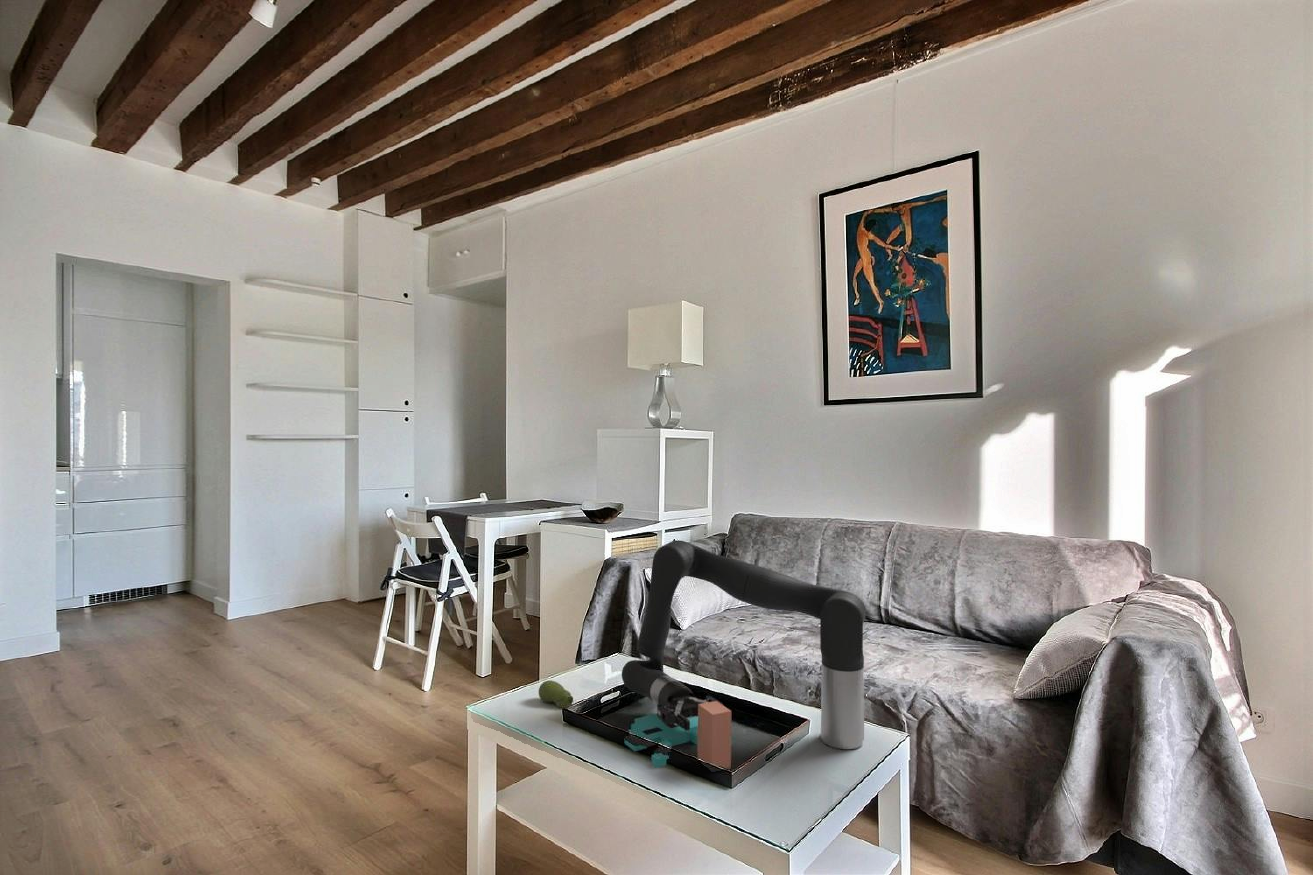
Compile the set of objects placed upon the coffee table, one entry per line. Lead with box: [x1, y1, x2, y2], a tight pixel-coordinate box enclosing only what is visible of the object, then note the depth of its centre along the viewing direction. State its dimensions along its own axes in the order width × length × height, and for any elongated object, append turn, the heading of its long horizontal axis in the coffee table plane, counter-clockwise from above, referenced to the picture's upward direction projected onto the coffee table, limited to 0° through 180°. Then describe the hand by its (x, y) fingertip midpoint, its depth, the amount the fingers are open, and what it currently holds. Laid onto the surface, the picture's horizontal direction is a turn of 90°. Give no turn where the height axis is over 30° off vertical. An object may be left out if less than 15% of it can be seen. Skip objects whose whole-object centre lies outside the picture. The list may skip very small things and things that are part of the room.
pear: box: [538, 679, 574, 710], centre depth 178 cm, size 6×5×10 cm
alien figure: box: [624, 713, 734, 769], centre depth 158 cm, size 20×2×20 cm
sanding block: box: [697, 701, 732, 770], centre depth 146 cm, size 4×6×12 cm
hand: (706, 722), depth 149 cm, fingers open, 8 cm apart
